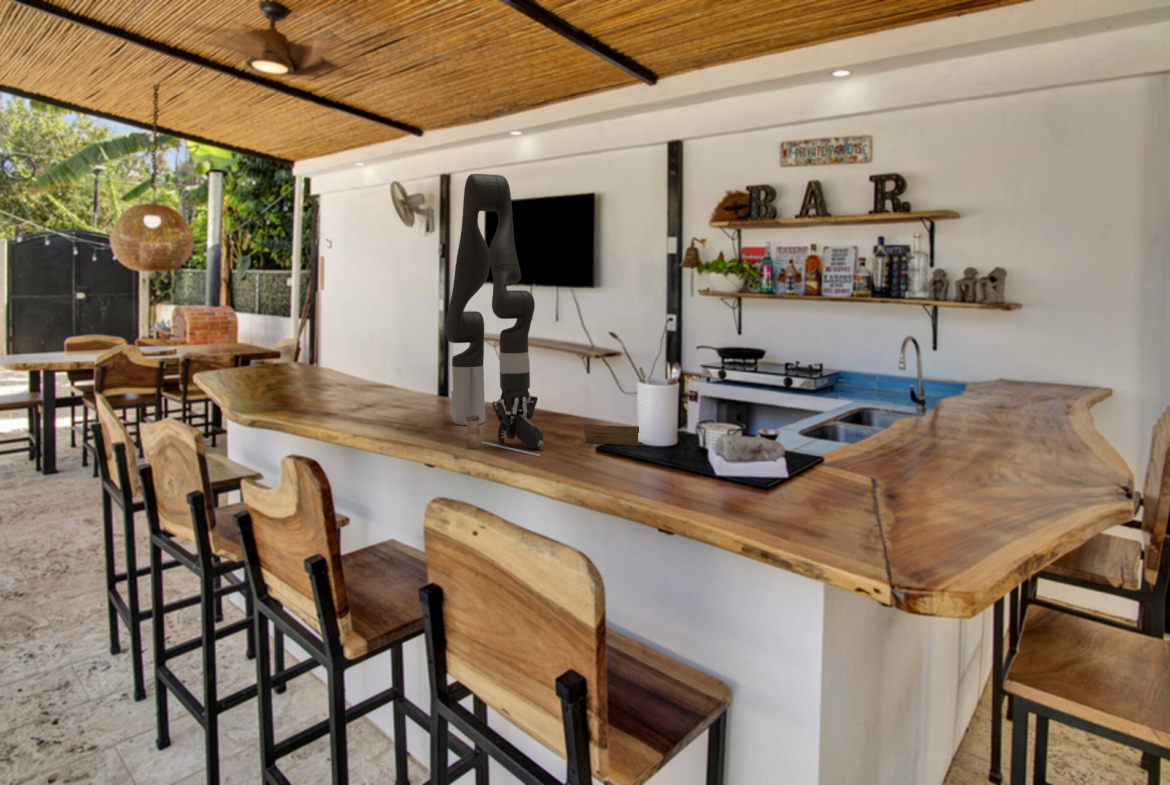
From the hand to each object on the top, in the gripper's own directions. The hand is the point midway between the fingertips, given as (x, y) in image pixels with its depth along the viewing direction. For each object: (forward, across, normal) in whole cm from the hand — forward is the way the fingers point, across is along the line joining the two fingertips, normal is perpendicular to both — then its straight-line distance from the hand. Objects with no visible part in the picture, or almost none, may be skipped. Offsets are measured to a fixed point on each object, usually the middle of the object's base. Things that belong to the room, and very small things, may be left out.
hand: (516, 437), depth 176 cm
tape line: (+2, +4, +2) cm, 5 cm away
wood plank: (+2, -18, +17) cm, 25 cm away
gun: (+2, 0, +2) cm, 3 cm away
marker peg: (+2, +9, -6) cm, 11 cm away
